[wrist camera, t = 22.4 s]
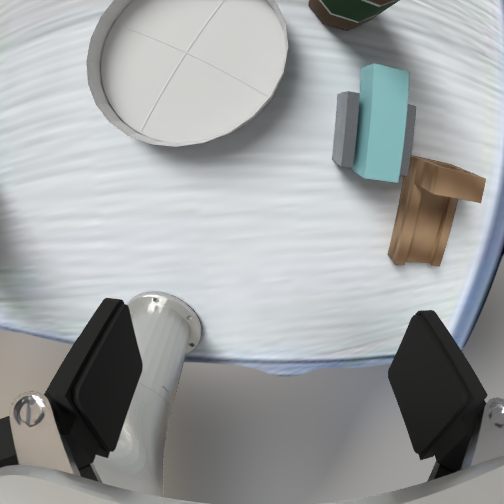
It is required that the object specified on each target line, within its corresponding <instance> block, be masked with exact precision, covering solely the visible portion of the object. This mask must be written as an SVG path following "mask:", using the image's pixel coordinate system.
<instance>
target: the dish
mask: <svg viewBox="0 0 504 504" xmlns="http://www.w3.org/2000/svg"><path fill="white" fill-rule="evenodd" d="M287 54H288V39H287V30H286V22H285V20H284V18H283V15H282V13H281V11H280V9H279V7H278V5H277V3H276V1H275V0H114V1H113V2H112V4H111V5H110V6H109V7H108V9H107V10H106V11H105V12H104V14H103V15H102V16H101V18H100V20H99V22H98V24H97V26H96V28H95V31H94V33H93V35H92V37H91V41H90V45H89V51H88V56H87V75H88V85H89V87H90V90H91V93H92V95H93V98H94V100H95V103H96V105H97V106H98V108H99V109H100V110H101V112H102V113H103V114H104V116H105V117H106V118H107V119H108V121H109V122H110V123H111V124H113V125H114V126H115V127H117V128H118V129H119V130H121V131H122V132H124V133H125V134H126V135H128V136H130V137H133V138H135V139H138V140H141V141H143V142H146V143H149V144H154V145H164V146H174V147H178V146H185V145H192V144H199V143H205V142H210V141H212V140H215V139H217V138H220V137H223V136H225V135H228V134H230V133H233V132H234V131H236V130H237V129H239V128H240V127H242V126H243V125H244V124H246V123H247V122H249V121H250V120H252V119H253V118H255V117H256V116H257V114H258V113H259V112H260V111H261V110H262V109H263V108H264V107H265V105H266V104H267V103H268V102H269V101H270V100H271V99H272V97H273V95H274V93H275V91H276V89H277V87H278V85H279V83H280V81H281V79H282V77H283V75H284V70H285V65H286V59H287Z"/></svg>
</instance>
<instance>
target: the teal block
mask: <svg viewBox="0 0 504 504" xmlns="http://www.w3.org/2000/svg"><path fill="white" fill-rule="evenodd" d="M408 89H409V72H406V71H403V70H399V69H396V68H392V67H388V66H384V65H380V64H375V63H373V64H370V65H367V66H365V67H362V68H361V78H360V100H359V113H358V124H357V135H356V145H355V154H354V162H353V170H352V171H354V172H355V173H357V174H358V175H360V176H361V177H363V178H366V179H374V180H381V181H389V182H396V183H398V181H399V174H400V168H401V161H402V153H403V145H404V137H405V127H406V117H407V105H408Z"/></svg>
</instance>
